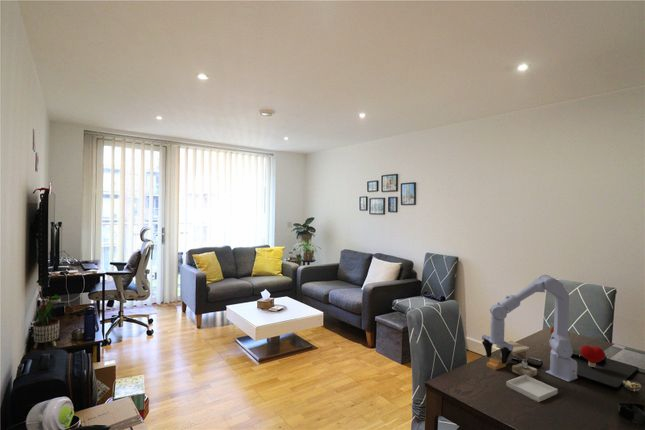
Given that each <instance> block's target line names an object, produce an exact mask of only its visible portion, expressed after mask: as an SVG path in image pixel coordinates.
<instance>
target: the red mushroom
mask: <svg viewBox="0 0 645 430" xmlns="http://www.w3.org/2000/svg"><path fill="white" fill-rule="evenodd" d="M580 354H581V356H582V357H583V358H584V359H586V360H587V361H588V367H590V366H591V367H594V368H596V366H597V363H599V362H602V361H603V360H604V359H605V357H606V352H605V351H604V350H603V348H601V347H599V346H590V345H588V344H587V345H583V346H581V347H580ZM591 367H590V368H591Z"/></svg>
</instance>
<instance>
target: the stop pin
mask: <svg viewBox="0 0 645 430" xmlns="http://www.w3.org/2000/svg"><path fill="white" fill-rule="evenodd" d="M521 363H522V368H523V369H525V370H527V365H528V362H527V360H526V359H522V361H521Z"/></svg>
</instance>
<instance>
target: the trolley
mask: <svg viewBox="0 0 645 430" xmlns="http://www.w3.org/2000/svg"><path fill="white" fill-rule="evenodd" d="M506 342H507V343H509V344H510V345H513V350H512V352H511V353H510V355H509V356H508V359H507V362H506V365H510V364H511V362H512V361H513V357H512V355H513V356H516V357H518V358H521V359H526V360H528V361H529V350H530V347H529V346H526V345H524V344H521V343H518V342H515V341H512V340H510V341H506ZM495 345H496V344H495ZM496 348H498V349H499V350H501V349H502V348H504V347H501V346H499V345H496ZM499 359H501V360H502V353H501V352H500V354H499Z"/></svg>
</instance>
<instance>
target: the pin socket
mask: <svg viewBox="0 0 645 430" xmlns="http://www.w3.org/2000/svg"><path fill="white" fill-rule="evenodd" d="M511 372H513V373H515V374H518V375H519V376H523V375H527V376H529V377H531V378H533V377H535V376H537V375H538V369H537V368H535V367H533V366H530V365H528V364H527V370H525V369H523V368H522V362H519V363H518V364H514V365H512V366H511Z"/></svg>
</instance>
